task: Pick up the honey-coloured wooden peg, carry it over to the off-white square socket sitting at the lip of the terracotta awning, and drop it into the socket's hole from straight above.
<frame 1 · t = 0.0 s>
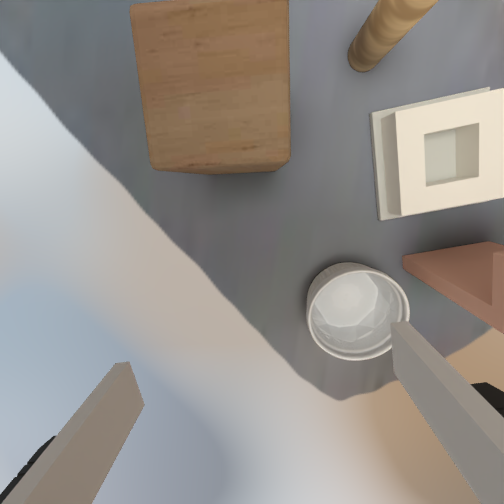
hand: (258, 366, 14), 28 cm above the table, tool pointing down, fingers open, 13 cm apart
ramekin: (343, 295, 43), on the table
wooden block: (240, 134, 37), on the table
peg: (364, 53, 34), on the table
socket: (427, 158, 37), on the table
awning: (444, 238, 39), on the table
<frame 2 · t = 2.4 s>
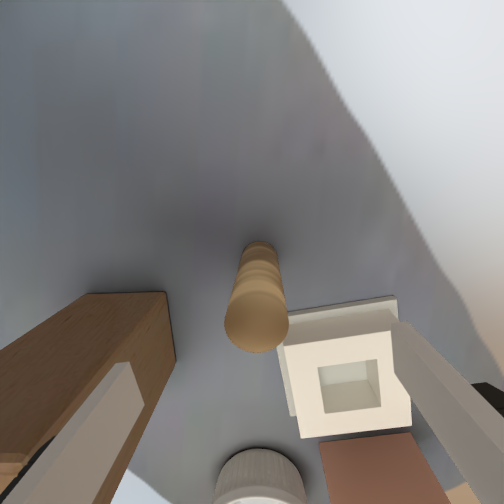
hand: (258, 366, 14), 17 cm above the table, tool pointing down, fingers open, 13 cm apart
ramekin: (260, 474, 39), on the table
wooden block: (133, 328, 34), on the table
peg: (259, 258, 30), on the table
socket: (337, 356, 33), on the table
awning: (362, 428, 36), on the table
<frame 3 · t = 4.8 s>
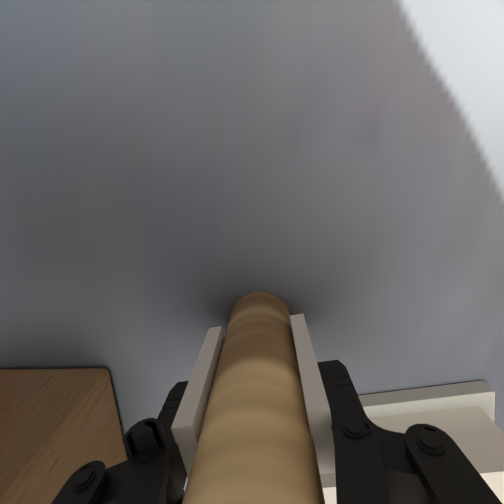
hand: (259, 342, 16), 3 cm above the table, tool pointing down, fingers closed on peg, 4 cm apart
wooden block: (62, 418, 21), on the table
peg: (260, 319, 18), on the table, touching gripper
socket: (384, 468, 21), on the table
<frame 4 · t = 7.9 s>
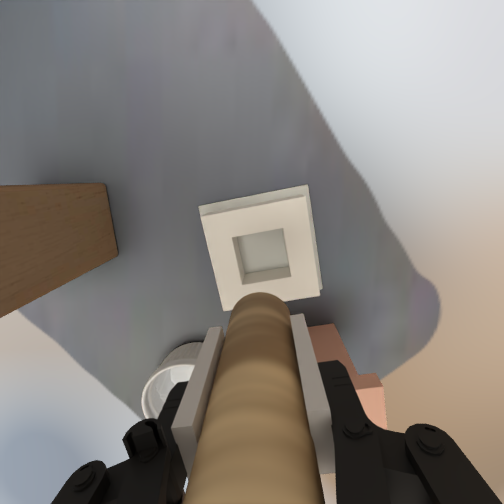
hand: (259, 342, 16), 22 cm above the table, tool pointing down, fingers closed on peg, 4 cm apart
ramekin: (202, 370, 43), on the table
wooden block: (78, 222, 37), on the table
peg: (260, 320, 18), point 19 cm above the table, touching gripper
socket: (262, 247, 37), on the table
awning: (290, 320, 40), on the table
when the fingers open (7 cm above the table, at t = 11.2 s): peg drops 2 cm, resting on socket.
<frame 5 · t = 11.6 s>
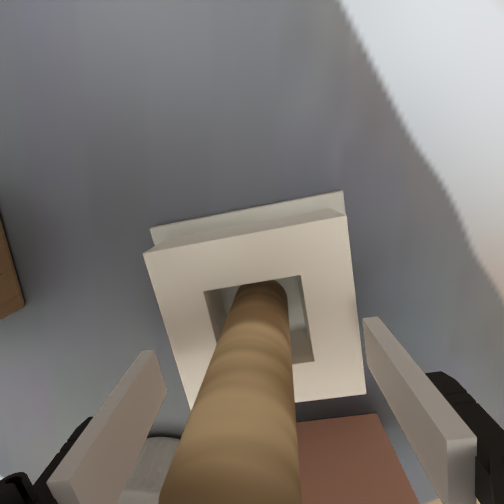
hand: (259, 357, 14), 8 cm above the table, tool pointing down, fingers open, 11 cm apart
ramekin: (169, 474, 28), on the table
peg: (261, 300, 21), point 1 cm above the table, touching socket
socket: (261, 294, 22), on the table
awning: (306, 407, 25), on the table
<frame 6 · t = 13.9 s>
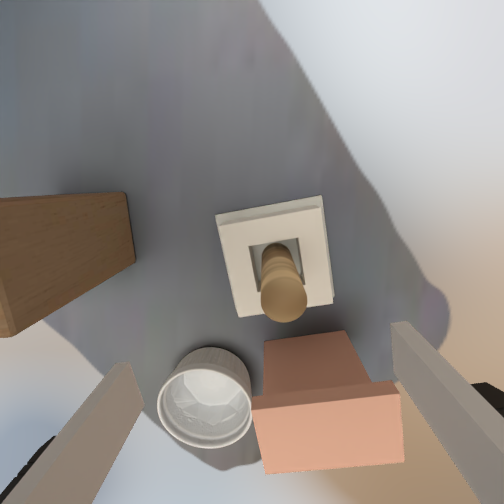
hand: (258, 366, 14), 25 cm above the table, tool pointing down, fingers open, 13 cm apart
ramekin: (214, 375, 44), on the table
wooden block: (98, 229, 39), on the table
peg: (276, 257, 37), point 1 cm above the table, touching socket
socket: (276, 255, 38), on the table
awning: (302, 326, 40), on the table
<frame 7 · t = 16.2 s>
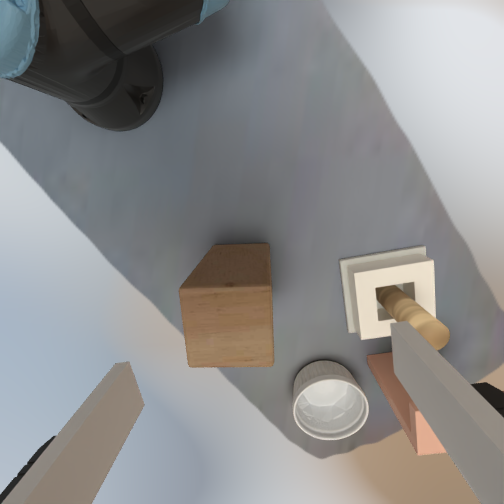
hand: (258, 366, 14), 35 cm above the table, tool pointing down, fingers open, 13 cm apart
ramekin: (322, 382, 55), on the table
wooden block: (242, 270, 49), on the table
peg: (385, 292, 48), point 1 cm above the table, touching socket
socket: (382, 289, 49), on the table
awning: (398, 344, 51), on the table
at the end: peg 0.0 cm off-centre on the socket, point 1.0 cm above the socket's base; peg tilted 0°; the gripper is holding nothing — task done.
